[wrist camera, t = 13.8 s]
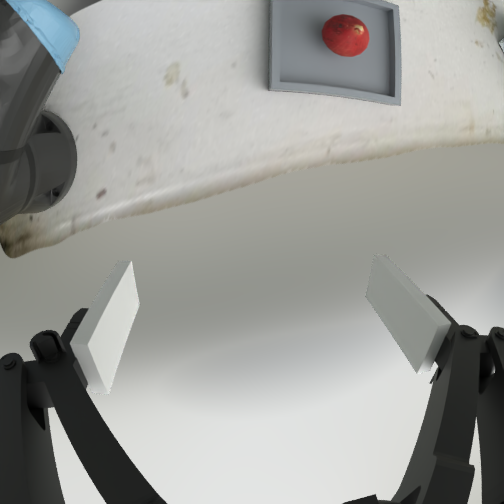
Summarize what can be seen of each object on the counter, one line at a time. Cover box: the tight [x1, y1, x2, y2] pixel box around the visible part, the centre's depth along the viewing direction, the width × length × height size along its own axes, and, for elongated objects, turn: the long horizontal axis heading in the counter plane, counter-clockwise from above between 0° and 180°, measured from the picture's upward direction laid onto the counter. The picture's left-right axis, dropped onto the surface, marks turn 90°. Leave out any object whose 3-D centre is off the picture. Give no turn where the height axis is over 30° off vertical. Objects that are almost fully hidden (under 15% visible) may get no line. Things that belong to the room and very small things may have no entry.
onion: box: [322, 14, 370, 57], centre depth 29 cm, size 6×6×8 cm
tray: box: [269, 0, 401, 106], centre depth 32 cm, size 18×16×2 cm
